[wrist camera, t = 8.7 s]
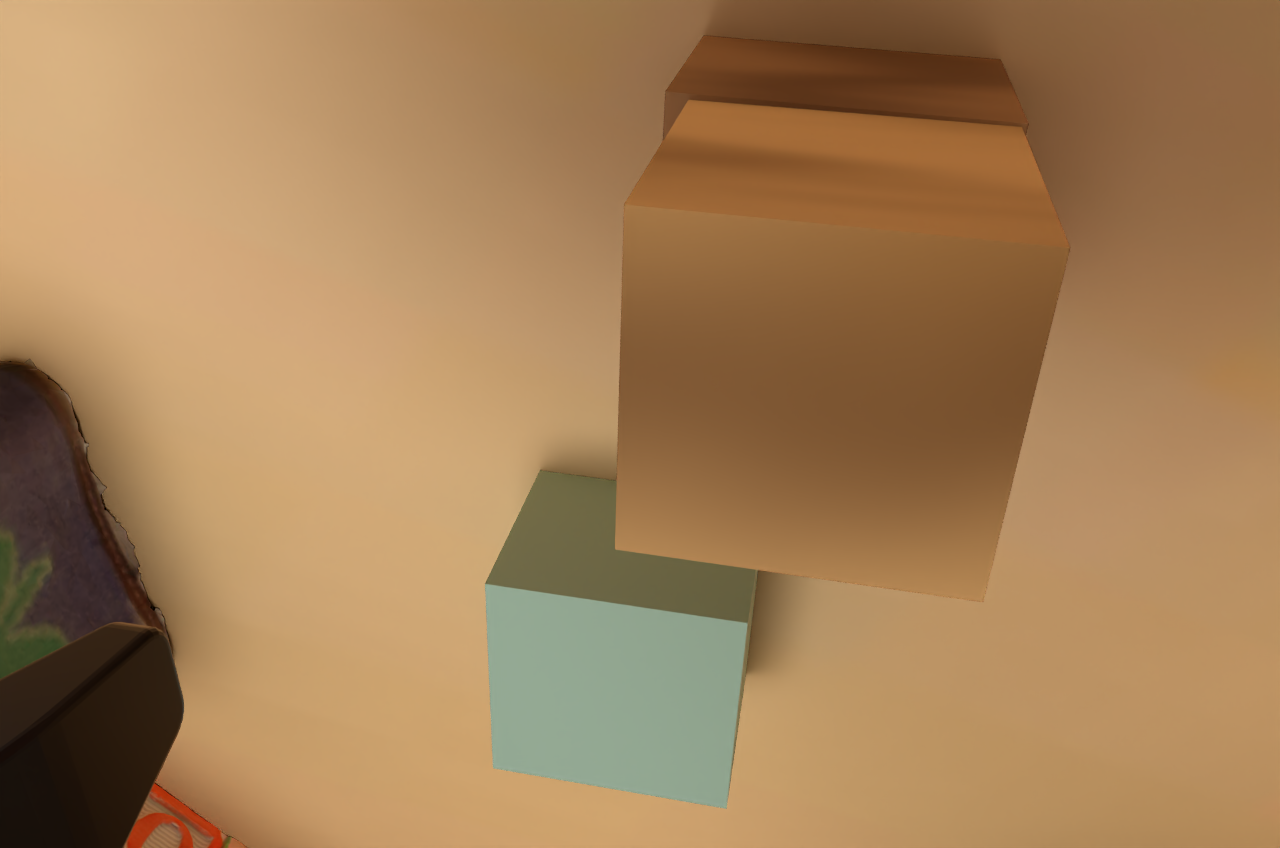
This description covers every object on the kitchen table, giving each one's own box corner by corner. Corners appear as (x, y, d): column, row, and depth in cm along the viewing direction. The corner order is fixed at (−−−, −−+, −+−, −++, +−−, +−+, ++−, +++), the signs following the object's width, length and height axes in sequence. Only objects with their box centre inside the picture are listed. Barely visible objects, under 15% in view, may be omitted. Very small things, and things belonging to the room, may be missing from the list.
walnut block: (1000, 58, 18) (1028, 123, 14) (945, 327, 20) (958, 437, 17) (704, 34, 18) (665, 91, 15) (687, 298, 21) (649, 398, 17)
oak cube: (960, 418, 17) (982, 602, 13) (672, 383, 17) (614, 550, 14) (1021, 126, 14) (1070, 248, 11) (688, 99, 15) (624, 204, 11)
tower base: (766, 497, 23) (747, 623, 19) (746, 670, 25) (726, 808, 22) (541, 467, 23) (485, 583, 20) (543, 638, 26) (492, 768, 23)
